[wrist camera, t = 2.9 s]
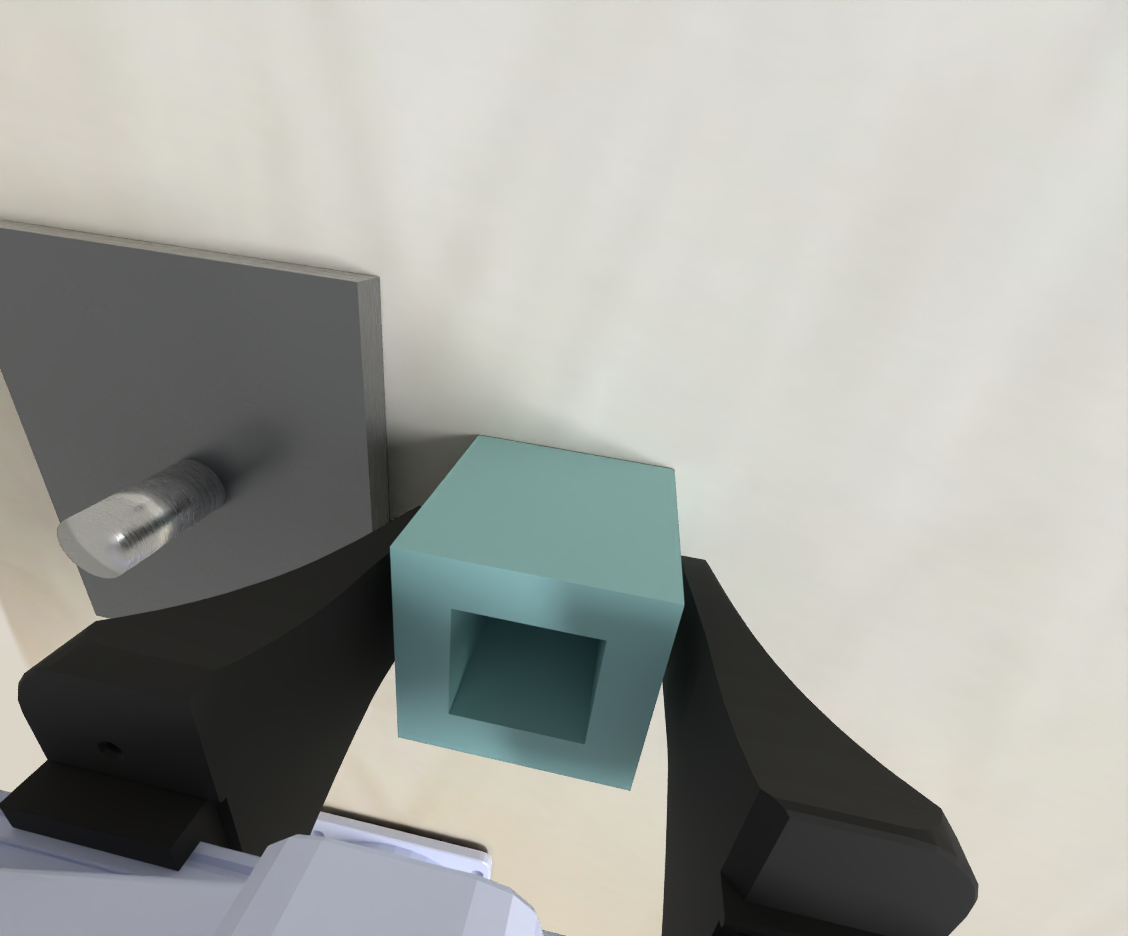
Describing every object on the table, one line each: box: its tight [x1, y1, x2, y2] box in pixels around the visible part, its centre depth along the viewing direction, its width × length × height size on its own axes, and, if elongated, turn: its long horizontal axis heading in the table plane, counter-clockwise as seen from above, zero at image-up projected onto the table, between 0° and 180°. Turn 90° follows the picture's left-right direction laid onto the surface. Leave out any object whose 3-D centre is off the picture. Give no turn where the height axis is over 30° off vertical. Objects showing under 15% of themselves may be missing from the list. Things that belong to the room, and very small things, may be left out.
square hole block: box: [390, 435, 684, 791], centre depth 12 cm, size 5×5×5 cm
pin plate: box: [0, 220, 390, 619], centre depth 13 cm, size 12×10×4 cm
